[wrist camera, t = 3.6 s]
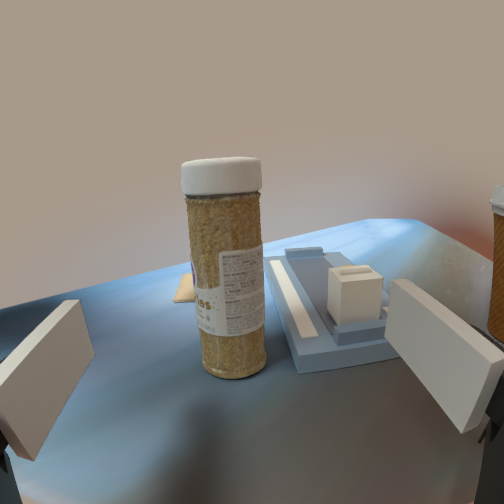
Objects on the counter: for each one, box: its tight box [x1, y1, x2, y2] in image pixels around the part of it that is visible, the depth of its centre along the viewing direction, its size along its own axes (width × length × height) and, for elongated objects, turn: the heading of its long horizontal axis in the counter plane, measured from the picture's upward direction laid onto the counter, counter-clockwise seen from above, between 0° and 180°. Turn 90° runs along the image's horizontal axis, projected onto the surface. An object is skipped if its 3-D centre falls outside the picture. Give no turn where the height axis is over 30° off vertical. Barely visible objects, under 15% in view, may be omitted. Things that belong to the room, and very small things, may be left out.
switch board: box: [263, 247, 401, 374], centre depth 30 cm, size 10×22×2 cm, turn 4°
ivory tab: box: [327, 265, 384, 325], centre depth 23 cm, size 3×3×4 cm
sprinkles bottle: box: [181, 157, 267, 379], centre depth 19 cm, size 5×5×14 cm
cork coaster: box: [173, 273, 195, 303], centre depth 35 cm, size 8×8×1 cm
